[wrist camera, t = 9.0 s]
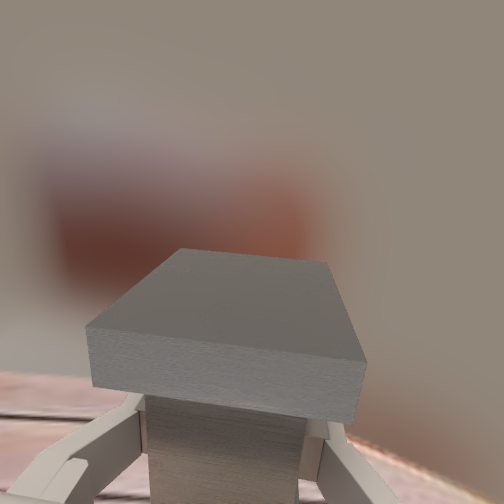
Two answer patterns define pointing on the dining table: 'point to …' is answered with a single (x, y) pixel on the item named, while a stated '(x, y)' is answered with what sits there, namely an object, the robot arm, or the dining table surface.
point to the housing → (230, 371)
